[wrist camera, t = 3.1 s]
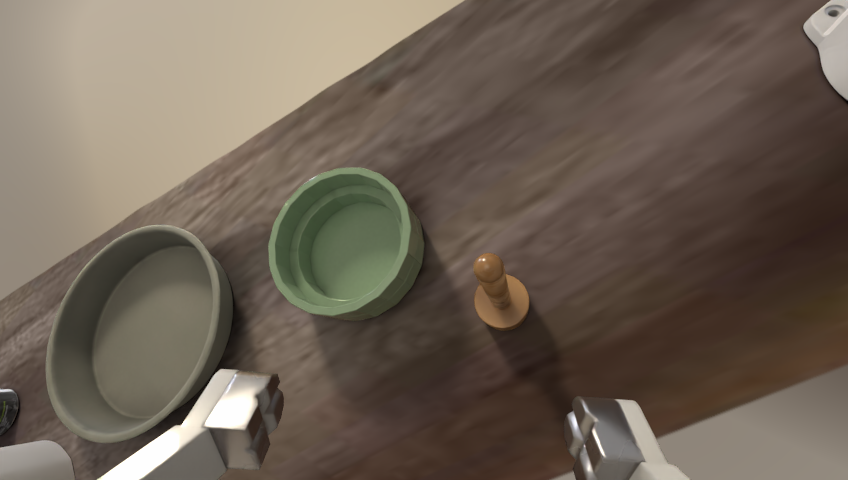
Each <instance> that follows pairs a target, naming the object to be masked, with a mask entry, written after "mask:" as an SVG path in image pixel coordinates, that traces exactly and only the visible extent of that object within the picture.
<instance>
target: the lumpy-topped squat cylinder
mask: <svg viewBox="0 0 848 480" xmlns="http://www.w3.org/2000/svg"><path fill="white" fill-rule="evenodd" d="M0 480H75V476H74V470H73V465H72V462H71V459H70V457H69V456H68V454H67V453H66V452H65V450H64V449H63V448H62V447H61V446H60V445H59V444H57V443H55V442H53V441H48V440H43V441H37V442H31V443H25V444H19V445H13V446H7V447H1V448H0Z"/></svg>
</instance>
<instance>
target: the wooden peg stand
mask: <svg viewBox="0 0 848 480" xmlns="http://www.w3.org/2000/svg"><path fill="white" fill-rule="evenodd" d="M474 273H475V275H476V277H477V279H478V281H479V282H480V285H479V286H478V288H477V290H476V293H475V297H474V304H475V308H476V311H477V313H478V315H479V316H480V318H481V319H482V320H483V321H484V322H485V323H486V324H487V325H489V326H490V327H492V328H494V329H497V330H502V331H506V330H511V329H514V328H516V327H518V326H519V325H521V324H522V323H523V321H524V320H525V319H526V317H527V314H528V311H529V295H528V292H527V290H526V288H525V287H524V285H523V284H522V283H521V282H520V281H519V280H517V279H516V278H514V277H512V276H509V275H506V273H505V269H504V264H503V262H502V260H501V259H500V258H499V257H498V256H497V255H495V254H492V253H485V254H482V255H480V256H479V257H478V258H477V259H476V260H475V263H474Z"/></svg>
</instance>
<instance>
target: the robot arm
mask: <svg viewBox="0 0 848 480" xmlns="http://www.w3.org/2000/svg"><path fill="white" fill-rule="evenodd" d="M803 28H804V31H805V33H806V34H807V36H808V37H809V38H810V40H811V41H812V42H813V43H814V44H815V45H816V46H817V48H818V50H819V54H820V60H821V65H822V69H823V72H824V74H825V76H826V78H827V79H828V81H829V83H830V84H831V85H832V86H833V88H834V89H835V90H836V91H837V92H838V93H839V94H840V95H841V96H843V97H844V98H845V99H846V100H848V0H831V1H830V2H828V3H827V4H826V5H825V6H823V7H822V8H821V9H819V10H818V11H817V12H816V13H814V14H813V15H812V16H811V17H810V18H809V19H808V20H807V21H806V22H805V24H804V26H803ZM279 383H280V380H279V377H278V374H272V373H262V372H251V371H241V370H230V369H220V370H219V371H218V372H217V373H215V374H214V376H213V377H212V379H211V380H210V382H209V384H208V385H207V387H206V388H205V390H204V391H203V393H202V394H201V396H200V397H199V399H198V400H197V402H196V403H195V405H194V407H193V408H192V410H191V411H190V413H189V414H188V416H187V417H186V419H185V420H184V422H183V423H182V425H175V426H174V427H172V428H171V429H169V430H168V431H166V432H165V433H164V434H162V435H161V436H159V437H158V438H156V439H155V440H153V441H152V442H151V443H149V444H148V445H146V446H145V447H143V448H142V449H141V450H139V451H138V452H136V453H135V454H133V455H132V456H131V457H129V458H128V459H126V460H125V461H123V462H122V463H120V464H119V465H118V466H116V467H115V468H113V469H112V470H110V471H109V472H108V473H106V474H105V475H103V476H102V477H100V478H99V479H98V480H218V479H219V478H220V477H221V476H222V475H223V474H224V473H225V472H226V471H227V469H226V468H232V469H252V470H260V467H261V465H262V463H263V460H264V458H265V455H266V453H267V451H268V448H269V446H270V442H269V438H268V435H269V434H270V433H271V432H272V431H274V430H275V429H276V428H277V426H278V424H279V421H280V419H281V415H282V411H283V406H284V397H283V393H282V391H280V390H279V389H278V388H277V387H278V385H279ZM572 407H573V410H574V411H572V412H570V413H569V414H567V416H566V419H565V422H564V436H565V442H566V445H567V449H568V451H569V452H570V454H571V455H572V456H573V457H574V458H575V459H576V462H575V464H574V467H573V470H574V474H575V477H576V480H691V479H690V478H689V477H688V476H687V475H686V474H684V473H683V472H682V471H681V470H680V469H679V468H678V467H677V466H676V465H671V464H669V463H668V461H667V459H666V458H665V456H664V454H663V452H662V450H661V448H660V446H659V444H658V442H657V440H656V438H655V436H654V434H653V432H652V430H651V428H650V426H649V424H648V422H647V420H646V418H645V416H644V414H643V412H642V410H641V408H640V406H639V405H638V404H637V403H636V402H635V401H632V400H617V399H612V398H596V397H579V396H577V397H576V398H574V400H573V402H572Z"/></svg>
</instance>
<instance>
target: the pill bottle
mask: <svg viewBox="0 0 848 480" xmlns="http://www.w3.org/2000/svg"><path fill="white" fill-rule="evenodd" d="M17 411H18V397H17V395H16V393H15V392H14V391H12V390H10V389H0V435H2V434H3V433H4V432H6V431H7V430H8V428H9V427H10V426H11V425H12V423H13V421H14V419H15V417H16V414H17Z"/></svg>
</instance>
